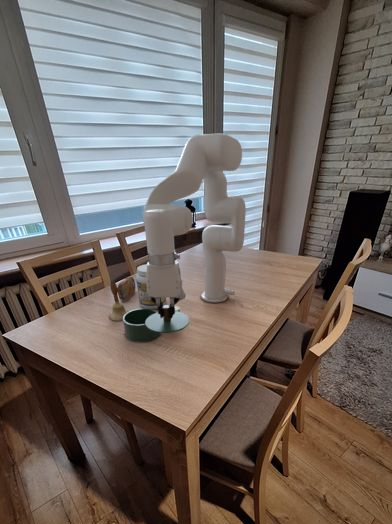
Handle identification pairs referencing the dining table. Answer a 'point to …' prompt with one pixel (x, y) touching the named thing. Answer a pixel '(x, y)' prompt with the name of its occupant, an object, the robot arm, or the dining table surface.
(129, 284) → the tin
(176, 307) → the candle
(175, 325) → the tin lid
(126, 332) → the candle tin
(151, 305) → the supplement tub
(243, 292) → the dining table surface
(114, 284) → the hand bell
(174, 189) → the robot arm
